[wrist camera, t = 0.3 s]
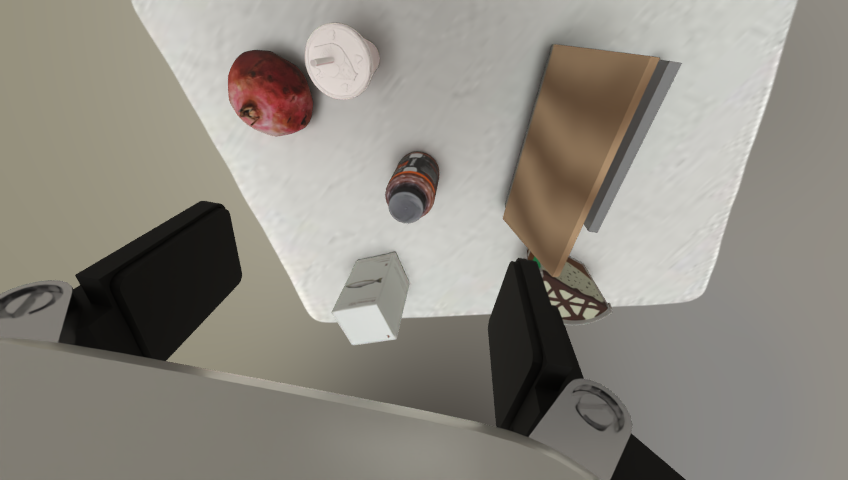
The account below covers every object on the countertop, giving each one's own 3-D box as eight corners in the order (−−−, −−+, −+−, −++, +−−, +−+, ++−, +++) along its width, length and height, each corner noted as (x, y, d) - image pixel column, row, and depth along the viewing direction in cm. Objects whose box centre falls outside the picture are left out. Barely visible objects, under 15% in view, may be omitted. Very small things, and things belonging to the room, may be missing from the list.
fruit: (287, 31, 37) (235, 29, 29) (337, 106, 41) (304, 124, 33) (236, 74, 41) (177, 84, 32) (287, 140, 45) (246, 165, 36)
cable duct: (552, 44, 35) (561, 45, 32) (661, 60, 35) (681, 62, 32) (504, 205, 46) (508, 218, 43) (587, 218, 46) (597, 232, 42)
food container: (502, 260, 51) (509, 304, 43) (526, 232, 48) (539, 274, 40) (563, 292, 54) (582, 339, 45) (590, 267, 50) (615, 314, 42)
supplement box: (395, 250, 53) (378, 304, 42) (410, 283, 56) (397, 341, 46) (355, 258, 54) (329, 312, 44) (372, 290, 58) (351, 347, 47)
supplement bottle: (407, 143, 43) (390, 173, 33) (446, 161, 44) (441, 196, 34) (391, 180, 46) (372, 218, 37) (429, 197, 47) (420, 238, 37)
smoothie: (352, 11, 36) (297, 0, 24) (401, 49, 37) (371, 55, 25) (329, 65, 39) (270, 78, 27) (374, 98, 40) (337, 124, 28)
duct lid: (561, 45, 32) (554, 44, 32) (660, 57, 22) (651, 56, 22) (508, 218, 43) (502, 218, 43) (559, 276, 33) (552, 277, 33)
